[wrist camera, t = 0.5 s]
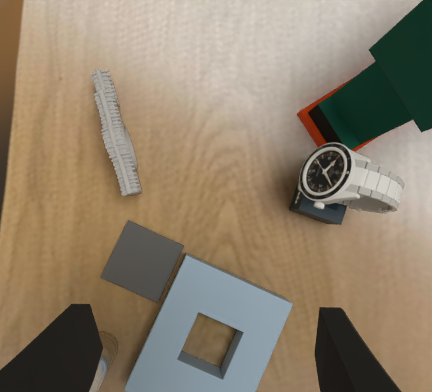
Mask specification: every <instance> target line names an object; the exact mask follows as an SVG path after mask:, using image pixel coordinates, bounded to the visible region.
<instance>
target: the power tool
mask: <svg viewBox="0 0 432 392" xmlns="http://www.w3.org/2000/svg"><path fill="white" fill-rule="evenodd" d="M369 51H370V53H371V54H372V56H373V57H374V59H375V60H376V61H375V62H374V63H373V64H372V65H370V66H369V67H368V68H366V69H365V70H364V71H362V72H361V73H360V74H359V75H357V76H356V77H354V78H353V79H351V80H349V81H348V82H346V83H345V84H343V85H341V86H340V87H338V88H337V89H335V90H333V91H332V92H330V93H328V94H327V95H325V96H324V97H322V98H320V99H319V100H317V101H316V102H314V103H312V104H311V105H309V106H308V107H306V108H304V109H303V110H301V111H300V112H299V113H298V114H297V115H298V116H299V118H300V119H301V121H302V123H303V124H304V126H305V127H306V129H307V130H308V132H309V134H310V135H311V137H312V138H313V140H314V141H315V143H316V145H317V146H318V147H320V146H322V145H324V144H328V143H333V142H334V143H340V144H343V145H345V146H346V147H347V148H348V149H350V150H352V151H354V152H355V151H356V150H358V149H360V148H361V147H363V146H364V145H366V144H367V143H369V142H370V141H372V140H373V139H375V138H377V137H378V136H380V135H382V134H384V133H386V132H388V131H390V130H392V129H394V128H396V127H398V126H400V125H402V124H405V123H407V122H409V121H411V120H414V122H415V123H416V125H417V126H418V128H419V129H420V131H421V132H423V131H426V130H429V129H431V128H432V0H423V1H422V2H420V3H419V4H418V5H417V6H416V7H415V8H414V9H413V10H412V11H411V12H410V13H408V14H407V15H406V16H405V17H404V18H403V19H402V20H401V21H400V22H399V23H397V24H396V25H395V26H394V27H393V28H392V29H391V30H390V31H389V32H388V33H387V34H385V35H384V36H383V37H382V38H381V39H380V40H379V41H378V42H377V43H376V44H374V45H373V46H372V47H371V48H370V49H369Z"/></svg>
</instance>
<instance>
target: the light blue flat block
mask: <svg viewBox="0 0 432 392" xmlns="http://www.w3.org/2000/svg"><path fill="white" fill-rule="evenodd" d="M292 305H293V304H292V303H291V302H290V301H288V300H287V299H286V298H284V297H282V296H280V295H278V294H276V293H273V292H271V291H269V290H267V289H265V288H262V287H260V286H258V285H256V284H254V283H252V282H249V281H247V280H245V279H243V278H241V277H239V276H236V275H234V274H232V273H230V272H228V271H225V270H223V269H221V268H219V267H217V266H215V265H212V264H210V263H208V262H206V261H204V260H201V259H199V258H197V257H195V256H193V255H191V254H188V253H186V255H185V257H184V259H183V261H182V263H181V265H180V267H179V270H178V272H177V274H176V276H175V278H174V280H173V282H172V285H171V287H170V289H169V291H168V293H167V295H166V298H165V300H164V302H163V304H162V306H161V308H160V310H159V313H158V315H157V317H156V319H155V321H154V323H153V325H152V328H151V330H150V332H149V334H148V336H147V338H146V341H145V343H144V345H143V347H142V349H141V351H140V353H139V356H138V358H137V360H136V362H135V364H134V366H133V368H132V371H131V373H130V375H129V377H128V380H127V383H126V385H125V388H124V390H125V391H127V392H256V389H257V387H258V385H259V382H260V380H261V378H262V375H263V373H264V371H265V368H266V366H267V364H268V361H269V359H270V357H271V354H272V352H273V350H274V347H275V345H276V343H277V340H278V338H279V336H280V333H281V331H282V329H283V326H284V324H285V321H286V319H287V317H288V314H289V312H290V310H291V307H292ZM198 312H200V313H202V314H204V315H206V316H209V317H211V318H213V319H215V320H217V321H220V322H222V323H224V324H226V325H229V326H231V327H233V328H235V329H237V331H236V333H235V336H234V338H233V340H232V343H231V345H230V347H229V349H228V352H227V354H226V356H225V358H224V361H223V363H222V365H221V367H220V368H219V367H217V366H215V365H212V364H210V363H208V362H205V361H203V360H201V359H199V358H196V357H194V356H192V355H190V354H187V353H185V352H183V351H181V350H182V348H183V345H184V343H185V341H186V339H187V337H188V334H189V332H190V330H191V328H192V326H193V323H194V321H195V319H196V317H197V315H198Z"/></svg>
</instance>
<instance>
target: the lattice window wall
mask: <svg viewBox="0 0 432 392" xmlns="http://www.w3.org/2000/svg"><path fill="white" fill-rule="evenodd" d="M107 72H109V70H99V69H98V70H96V72H93V73H92V74H91V75H92V76H93V78H92V79H93V80H94V84H95V88H96V91H97V93H94V97H95V98H96V99H95V101H96V102H97V103H96V105H98V107H97V108H98V109H99V113H100V115H99V116H100V117H101V119H100V120H101V121H102V122H101V124H102V125H103V126H102V128H103V129H102V130H101V131H102V132H103V133H102V135H103V139H104V144H105V146H106V147H105V149H107V152H108V153H109V155H110V156H109V158H112V160H111V161H112V162H113V166H114V167H115V168H114V169H115V170H116V174H117V176H118V177H117V179H119V181H118V182H119V183H120V185H119V186H120V187H121V189H120V190H121V191H122V193H121V194H122V195H123V196H125V195H135V194H138V193H142V189H141V185H140V182H139V178H138V175H137V171H136V169H138V166H137V161H136V156H135V153H134V149H133V146H132V143H131V140H130V137H129V134H128V131H127V129H126V126H125V125H124V123H123V122H122V118H121V115H120V111H119V108H118V107H120V106H119V102H118V99H117V95H116V92H115V88H114V85H113V81H112V79H111V78H110V74H107Z"/></svg>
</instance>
